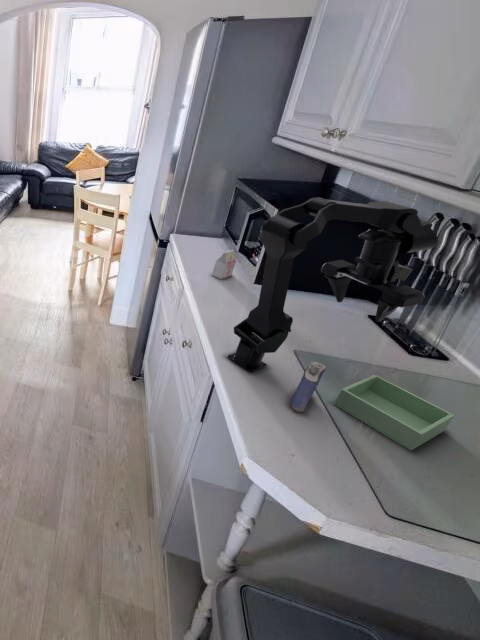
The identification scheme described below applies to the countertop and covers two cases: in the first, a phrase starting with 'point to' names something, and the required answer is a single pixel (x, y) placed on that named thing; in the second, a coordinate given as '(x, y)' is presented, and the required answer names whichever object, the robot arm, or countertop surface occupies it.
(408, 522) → the countertop surface
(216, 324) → the countertop surface
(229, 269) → the milk carton
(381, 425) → the bin
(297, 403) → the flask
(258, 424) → the countertop surface
